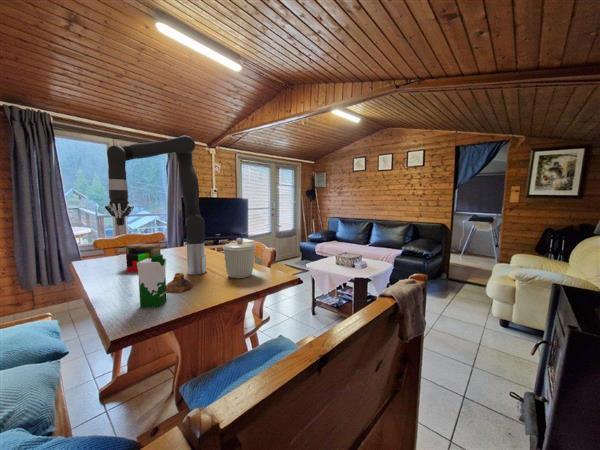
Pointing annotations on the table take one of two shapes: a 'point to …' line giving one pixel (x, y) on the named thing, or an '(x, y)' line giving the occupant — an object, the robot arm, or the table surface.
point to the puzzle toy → (136, 259)
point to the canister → (239, 258)
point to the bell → (178, 284)
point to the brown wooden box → (143, 248)
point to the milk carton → (152, 281)
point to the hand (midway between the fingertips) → (120, 225)
